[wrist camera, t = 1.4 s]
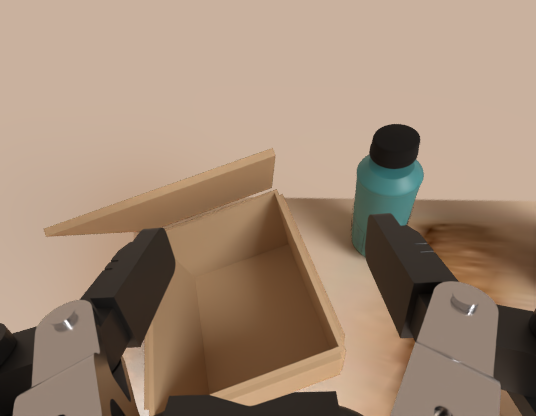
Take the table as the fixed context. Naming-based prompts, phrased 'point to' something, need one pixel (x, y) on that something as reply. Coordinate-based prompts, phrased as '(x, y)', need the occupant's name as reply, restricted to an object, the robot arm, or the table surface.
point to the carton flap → (177, 199)
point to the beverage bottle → (387, 179)
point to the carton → (241, 311)
